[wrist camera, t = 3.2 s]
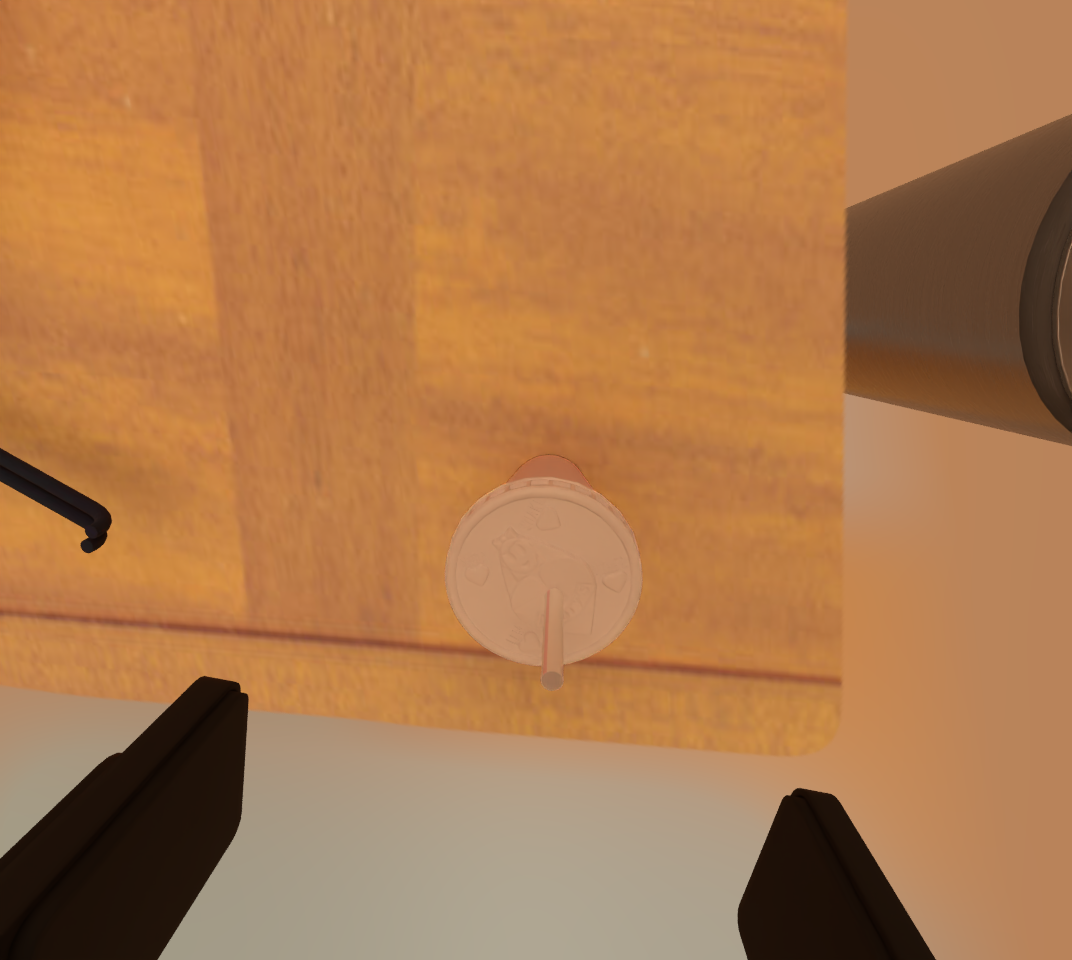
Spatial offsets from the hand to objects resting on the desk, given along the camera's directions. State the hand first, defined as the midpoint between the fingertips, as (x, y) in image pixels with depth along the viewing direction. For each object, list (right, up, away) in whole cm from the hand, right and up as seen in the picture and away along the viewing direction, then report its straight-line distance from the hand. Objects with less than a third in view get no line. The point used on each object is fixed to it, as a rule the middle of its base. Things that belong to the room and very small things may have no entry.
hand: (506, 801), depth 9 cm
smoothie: (+1, +5, +17) cm, 18 cm away
